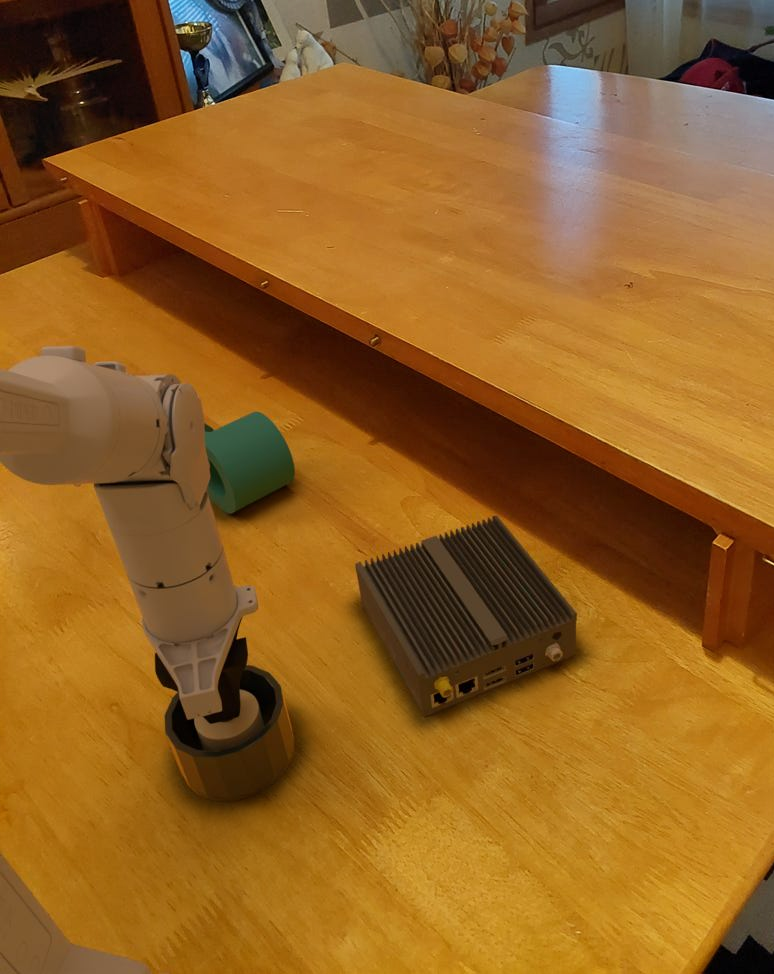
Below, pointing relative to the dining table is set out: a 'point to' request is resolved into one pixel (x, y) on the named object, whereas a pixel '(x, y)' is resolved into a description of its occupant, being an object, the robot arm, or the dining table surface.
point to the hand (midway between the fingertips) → (223, 705)
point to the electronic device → (466, 614)
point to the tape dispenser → (246, 461)
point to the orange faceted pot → (241, 765)
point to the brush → (231, 726)
